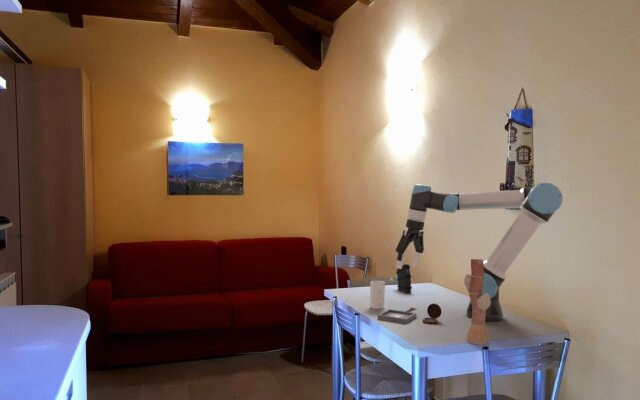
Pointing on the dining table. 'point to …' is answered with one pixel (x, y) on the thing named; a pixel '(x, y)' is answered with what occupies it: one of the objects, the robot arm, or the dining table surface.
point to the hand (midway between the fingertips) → (406, 267)
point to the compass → (433, 314)
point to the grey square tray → (397, 316)
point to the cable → (411, 308)
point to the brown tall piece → (477, 303)
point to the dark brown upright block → (404, 279)
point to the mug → (377, 294)
